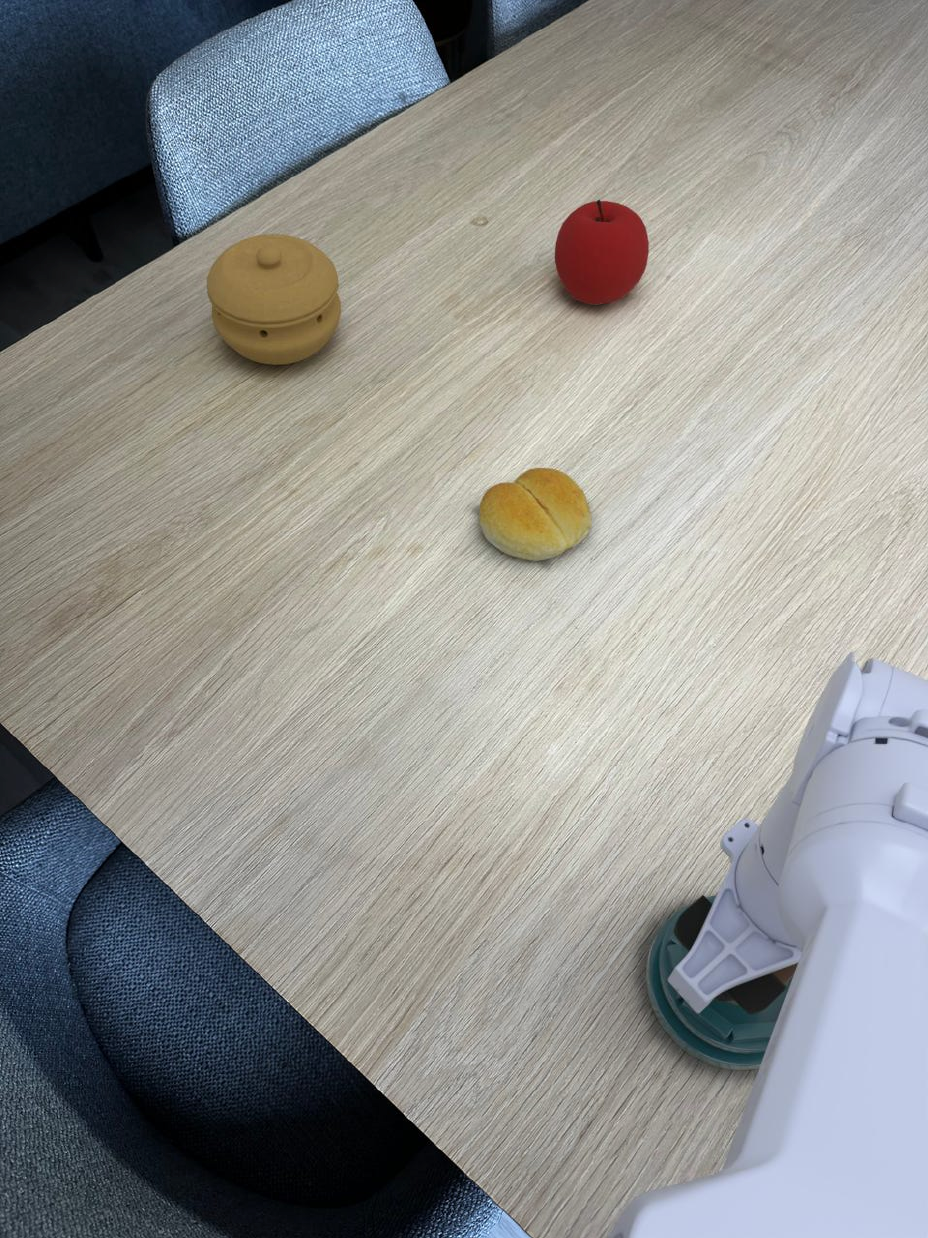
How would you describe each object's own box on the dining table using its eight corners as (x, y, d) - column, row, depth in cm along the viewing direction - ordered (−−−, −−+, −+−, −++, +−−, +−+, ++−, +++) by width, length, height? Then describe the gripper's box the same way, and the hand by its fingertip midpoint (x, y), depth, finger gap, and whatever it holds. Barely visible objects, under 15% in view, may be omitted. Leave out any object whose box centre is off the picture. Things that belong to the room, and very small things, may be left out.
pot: (202, 319, 99) (181, 227, 91) (317, 289, 102) (308, 197, 94) (240, 397, 93) (222, 305, 85) (362, 362, 96) (356, 271, 88)
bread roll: (461, 512, 86) (462, 479, 83) (551, 474, 89) (556, 440, 85) (513, 581, 82) (517, 549, 78) (606, 539, 85) (613, 506, 81)
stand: (828, 1062, 61) (851, 1046, 58) (663, 1078, 61) (676, 1062, 57) (783, 899, 67) (801, 876, 64) (632, 911, 66) (642, 888, 63)
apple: (626, 328, 100) (644, 237, 92) (537, 306, 102) (547, 214, 94) (650, 274, 105) (669, 183, 97) (565, 253, 107) (576, 162, 99)
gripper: (855, 701, 50) (778, 819, 61) (643, 881, 45) (601, 976, 56) (979, 806, 47) (874, 911, 58) (768, 1014, 42) (697, 1085, 53)
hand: (747, 949), depth 57 cm, fingers closed on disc, 5 cm apart
